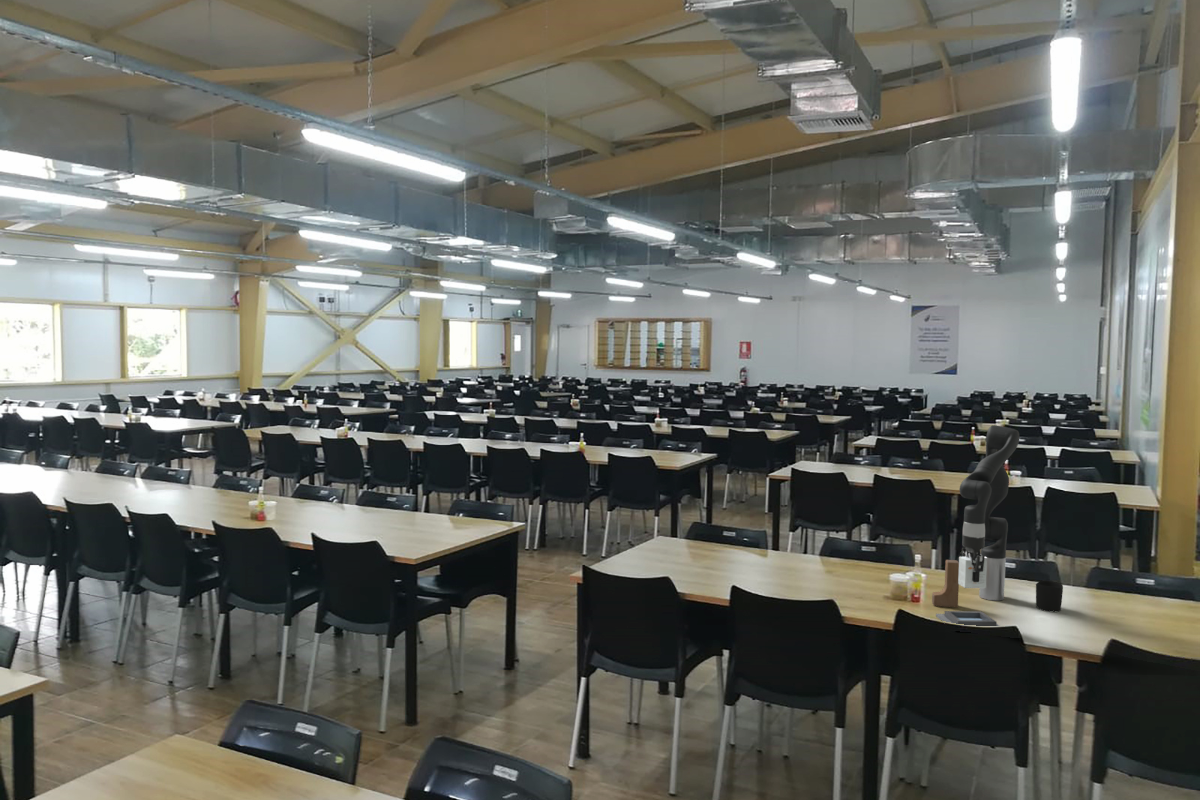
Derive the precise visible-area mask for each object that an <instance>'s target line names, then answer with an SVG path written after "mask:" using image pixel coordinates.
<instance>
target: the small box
mask: <svg viewBox="0 0 1200 800" xmlns="http://www.w3.org/2000/svg"><path fill="white" fill-rule="evenodd" d="M958 562H959V577H958V584H959V586H961V587H962V588H964V589H980V588H986V568H987V560H985V559H984V567H983V572H980V573H979V582H973V581H972V576H973V566H972V565H971V560H970V558H969V557H962V556H959V557H958ZM973 563H976V561H974V560H973ZM980 568H981V566H980Z"/></svg>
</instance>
